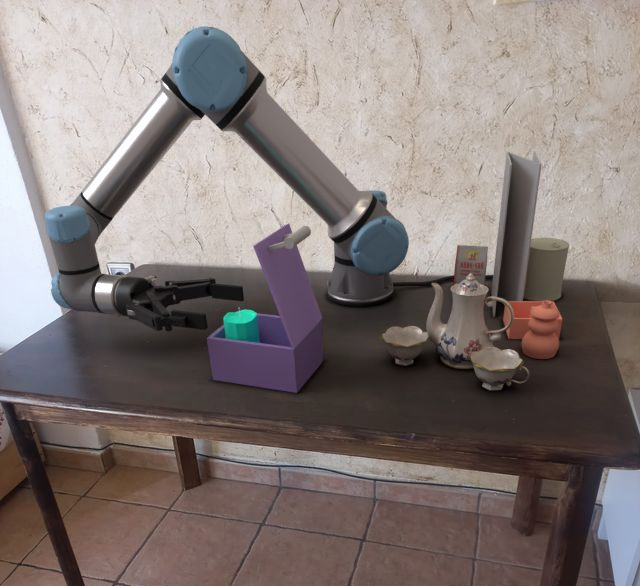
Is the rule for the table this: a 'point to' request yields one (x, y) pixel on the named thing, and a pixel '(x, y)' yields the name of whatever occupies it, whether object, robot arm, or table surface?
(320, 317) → the lid
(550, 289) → the can
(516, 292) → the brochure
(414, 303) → the table surface
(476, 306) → the chinaware
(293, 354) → the box
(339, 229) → the robot arm
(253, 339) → the candle
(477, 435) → the table surface
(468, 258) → the small printed carton
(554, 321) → the pottery
